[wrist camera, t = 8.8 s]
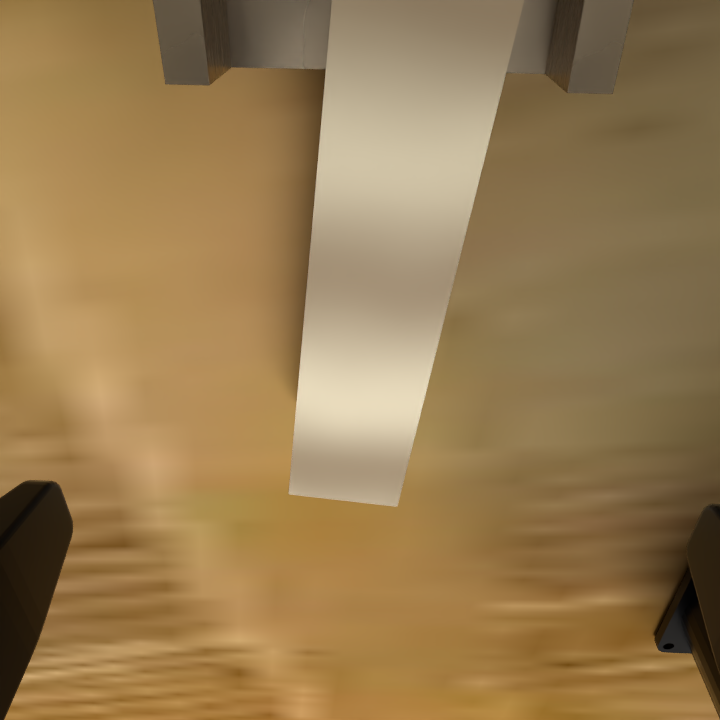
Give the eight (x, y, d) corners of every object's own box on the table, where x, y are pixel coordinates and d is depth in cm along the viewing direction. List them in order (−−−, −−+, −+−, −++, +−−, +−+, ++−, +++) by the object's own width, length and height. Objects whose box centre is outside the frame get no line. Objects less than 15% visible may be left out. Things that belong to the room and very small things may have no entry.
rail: (396, 422, 23) (397, 506, 20) (302, 410, 23) (288, 494, 20) (514, -115, 14) (553, -117, 10) (355, -141, 13) (345, -151, 10)
